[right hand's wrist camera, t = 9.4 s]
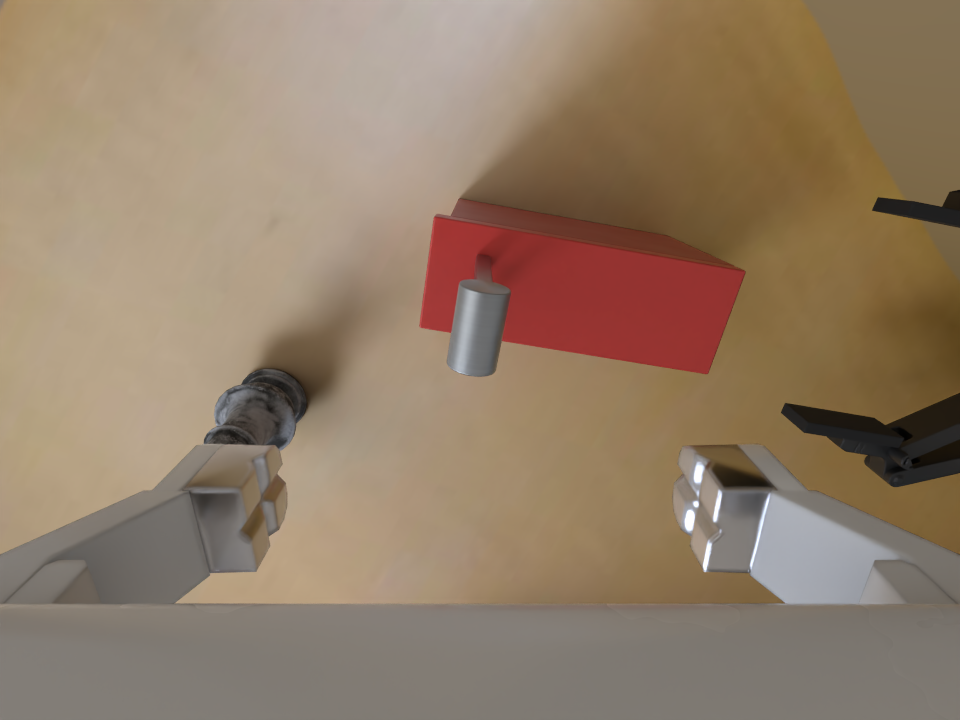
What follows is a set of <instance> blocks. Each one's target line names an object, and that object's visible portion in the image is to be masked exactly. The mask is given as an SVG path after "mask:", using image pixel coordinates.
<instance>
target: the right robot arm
mask: <svg viewBox="0 0 960 720" xmlns="http://www.w3.org/2000/svg"><path fill="white" fill-rule="evenodd" d="M281 466H282V459H281V454H280V450H279V449H278V448H277V447H276V446H275V445H241V444H227V445H225V444H201V445H196V446H195V447H194V448H193V449H192V450H191V451H190V452H189V453H188V454H187V455H186V456H185V457H184V458H183V459H182V460H181V461H180V462H179V464H178V465H177V466H176V467H175V468H174V469H173V470H172V471H171V472H170V473H169V474H168V475H167V476H166V477H165V478H164V479H163V480H162V481H161V482H160V483H159V484H158V485H157V486H156V487H155V488H154V489H153V490H152V491H142V492H139V493H137V494H135V495H133V496H130V497H128V498H126V499H124V500H121V501H119V502H117V503H115V504H113V505H110V506H108V507H106V508H104V509H101V510H99V511H97V512H95V513H92V514H90V515H88V516H86V517H83V518H81V519H79V520H77V521H74V522H72V523H70V524H68V525H65V526H63V527H61V528H59V529H56V530H54V531H52V532H50V533H48V534H45V535H43V536H41V537H39V538H36V539H34V540H32V541H30V542H27V543H25V544H23V545H21V546H18V547H16V548H14V549H12V550H9V551H7V552H5V553H3V554H0V720H960V555H959V554H957V553H955V552H952V551H950V550H948V549H946V548H943V547H941V546H939V545H937V544H935V543H932V542H930V541H928V540H926V539H923V538H921V537H919V536H917V535H914V534H912V533H910V532H908V531H906V530H903V529H901V528H899V527H897V526H894V525H892V524H890V523H888V522H885V521H883V520H881V519H879V518H876V517H874V516H872V515H870V514H868V513H865V512H863V511H861V510H859V509H856V508H854V507H852V506H850V505H847V504H845V503H843V502H841V501H838V500H836V499H834V498H832V497H830V496H827V495H825V494H823V493H821V492H818V491H808V490H807V489H806V488H805V487H804V486H803V485H802V484H801V483H800V482H799V481H798V480H797V479H796V478H795V477H794V476H793V475H792V474H791V473H790V472H789V471H788V470H787V468H786V467H785V466H784V465H783V464H782V463H781V462H780V461H779V460H778V459H777V458H776V457H775V456H774V455H773V454H772V453H771V452H770V451H769V450H768V449H767V448H766V447H765V446H763V445H760V444H737V445H698V446H683V447H682V449H681V451H680V453H679V458H678V466H679V467H680V469H681V471H682V472H683V474H682V475H681V477H680V478H679V479H678V480H677V481H676V482H675V483H674V489H673V496H672V498H673V510H674V514H675V517H676V521H677V523H678V525H679V527H680V528H681V530H682V531H684V532H685V533H687V534H688V535H690V536H691V542H690V547H691V549H692V551H693V553H694V555H695V556H696V558H697V560H698V562H699V564H700V566H701V567H702V569H703V571H704V572H735V573H750V576H752V577H753V578H754V579H756V580H757V581H758V582H759V583H761V584H762V585H763V586H764V587H766V588H767V589H768V590H770V591H771V592H772V593H773V594H775V595H776V596H777V597H778V598H780V599H781V600H782V601H784V602H785V603H786V604H174V603H175V602H177V601H178V600H179V599H180V598H182V597H183V596H184V595H186V594H187V593H188V592H189V591H191V590H192V589H193V588H194V587H196V586H197V585H198V584H200V583H201V582H202V581H203V580H205V579H206V578H207V577H208V576H210V573H225V572H256V571H257V569H258V568H259V566H260V564H261V562H262V560H263V558H264V556H265V555H266V553H267V551H268V549H269V547H270V542H269V536H270V535H272V534H273V533H275V532H276V531H278V530H279V528H280V526H281V524H282V522H283V520H284V518H285V513H286V509H287V488H286V483H285V482H284V481H283V480H282V479H281V478H280V477H279V476H278V474H277V472H278V471H279V469H280V467H281Z"/></svg>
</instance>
